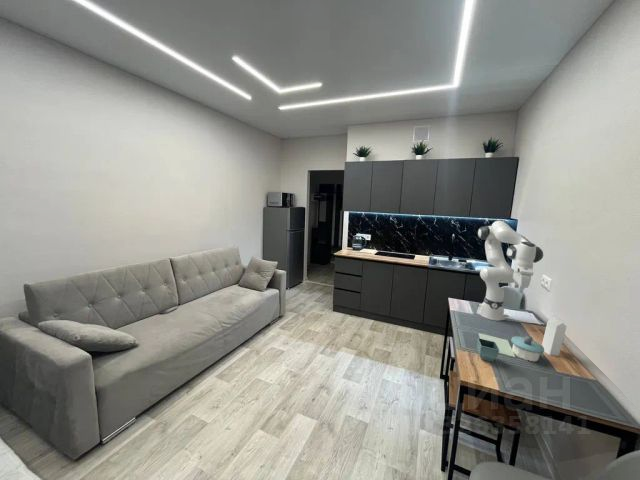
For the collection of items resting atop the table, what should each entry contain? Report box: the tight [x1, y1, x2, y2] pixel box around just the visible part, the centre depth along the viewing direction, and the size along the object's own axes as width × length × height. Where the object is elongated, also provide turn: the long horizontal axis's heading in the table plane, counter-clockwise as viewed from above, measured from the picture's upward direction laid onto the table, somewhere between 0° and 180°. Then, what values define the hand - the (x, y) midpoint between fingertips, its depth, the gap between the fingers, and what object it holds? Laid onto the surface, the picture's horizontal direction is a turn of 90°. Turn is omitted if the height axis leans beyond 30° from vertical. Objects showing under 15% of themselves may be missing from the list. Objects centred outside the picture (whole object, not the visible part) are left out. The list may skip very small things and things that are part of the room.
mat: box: [478, 332, 517, 359], centre depth 158 cm, size 20×16×1 cm
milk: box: [541, 316, 567, 356], centre depth 153 cm, size 6×6×22 cm
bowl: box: [511, 343, 541, 362], centre depth 150 cm, size 12×12×6 cm
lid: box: [510, 335, 545, 354], centre depth 149 cm, size 15×15×5 cm
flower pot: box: [476, 337, 499, 362], centre depth 143 cm, size 9×9×9 cm
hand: (518, 290), depth 159 cm, fingers open, 8 cm apart
